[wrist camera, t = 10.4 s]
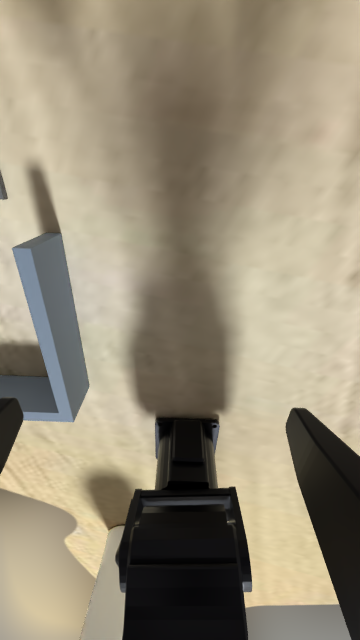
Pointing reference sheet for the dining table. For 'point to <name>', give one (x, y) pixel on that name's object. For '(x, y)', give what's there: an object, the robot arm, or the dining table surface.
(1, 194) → the charcoal mat
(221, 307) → the dining table surface
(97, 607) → the drinking glass
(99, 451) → the dining table surface
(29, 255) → the open-front box
